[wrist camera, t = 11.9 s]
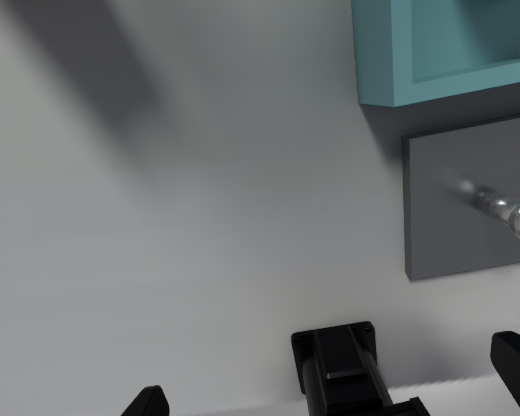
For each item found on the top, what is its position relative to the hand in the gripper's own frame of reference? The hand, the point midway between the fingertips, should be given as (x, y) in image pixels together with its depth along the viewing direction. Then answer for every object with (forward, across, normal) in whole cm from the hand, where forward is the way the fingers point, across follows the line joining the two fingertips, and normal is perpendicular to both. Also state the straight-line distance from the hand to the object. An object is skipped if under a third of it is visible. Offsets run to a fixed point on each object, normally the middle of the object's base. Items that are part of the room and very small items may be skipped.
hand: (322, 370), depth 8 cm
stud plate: (+13, -13, +2) cm, 18 cm away
